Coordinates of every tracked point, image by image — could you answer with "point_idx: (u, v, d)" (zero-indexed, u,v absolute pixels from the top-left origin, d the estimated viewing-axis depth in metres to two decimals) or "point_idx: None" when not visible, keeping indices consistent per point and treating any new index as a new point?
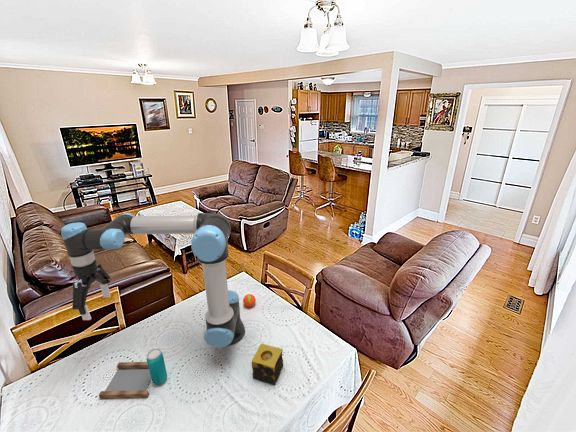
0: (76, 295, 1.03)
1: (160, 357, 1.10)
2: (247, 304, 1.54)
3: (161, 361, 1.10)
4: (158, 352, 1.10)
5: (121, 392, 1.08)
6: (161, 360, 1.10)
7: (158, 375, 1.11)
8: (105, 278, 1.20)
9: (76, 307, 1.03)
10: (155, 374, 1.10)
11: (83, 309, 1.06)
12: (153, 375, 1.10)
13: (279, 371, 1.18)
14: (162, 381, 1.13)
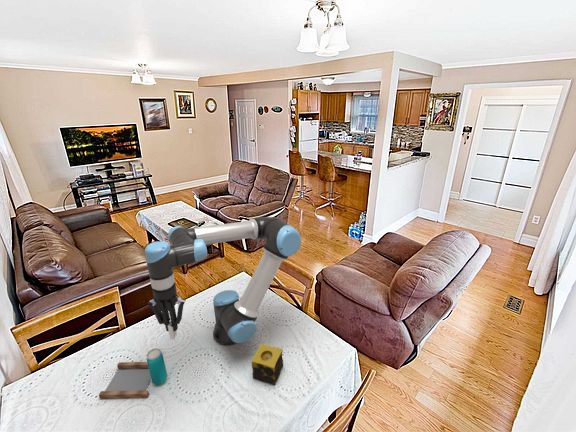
0: None
1: (160, 357, 1.10)
2: None
3: (161, 361, 1.10)
4: (158, 352, 1.10)
5: (121, 392, 1.08)
6: (161, 360, 1.10)
7: (158, 375, 1.11)
8: (176, 320, 1.04)
9: None
10: (155, 374, 1.10)
11: (166, 326, 1.04)
12: (153, 375, 1.10)
13: (279, 371, 1.18)
14: (162, 381, 1.13)
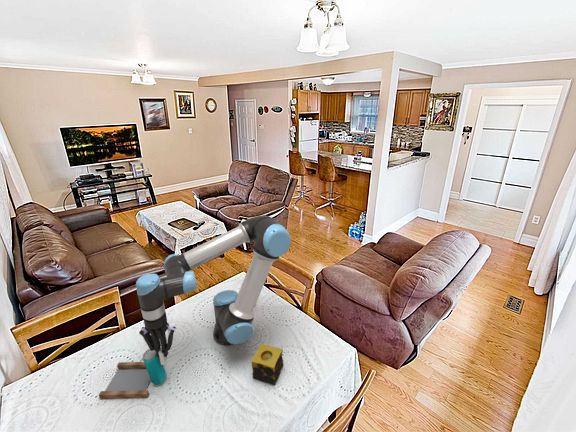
0: None
1: (156, 356, 1.09)
2: None
3: (158, 360, 1.10)
4: (154, 352, 1.10)
5: (121, 392, 1.08)
6: (158, 359, 1.10)
7: (157, 374, 1.11)
8: (166, 346, 1.08)
9: None
10: (153, 374, 1.10)
11: (157, 353, 1.09)
12: (151, 375, 1.10)
13: (279, 371, 1.18)
14: (161, 380, 1.12)
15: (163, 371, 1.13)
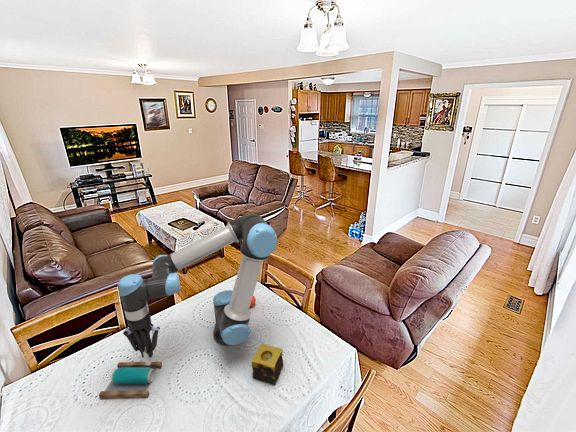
0: None
1: (115, 372, 1.12)
2: None
3: (120, 372, 1.12)
4: None
5: (121, 392, 1.08)
6: (119, 372, 1.12)
7: (133, 378, 1.11)
8: None
9: None
10: (131, 381, 1.11)
11: (142, 353, 1.08)
12: (133, 382, 1.12)
13: (279, 371, 1.18)
14: (143, 376, 1.11)
15: (137, 371, 1.13)
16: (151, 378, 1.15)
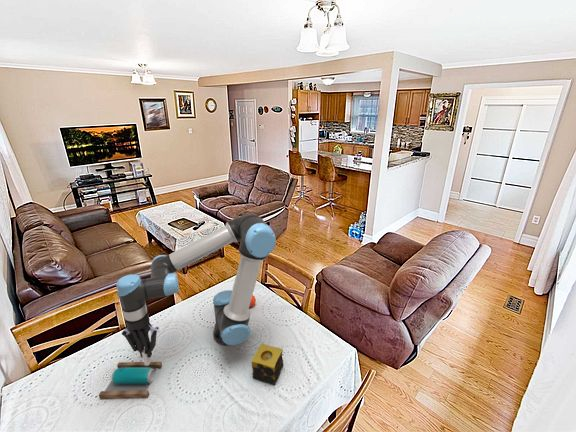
0: None
1: (115, 372, 1.12)
2: None
3: (120, 372, 1.12)
4: None
5: (121, 392, 1.08)
6: (119, 372, 1.12)
7: (133, 378, 1.11)
8: (149, 347, 1.08)
9: None
10: (131, 381, 1.11)
11: (141, 353, 1.09)
12: (133, 382, 1.12)
13: (279, 371, 1.18)
14: (143, 376, 1.11)
15: (137, 371, 1.13)
16: (151, 378, 1.15)
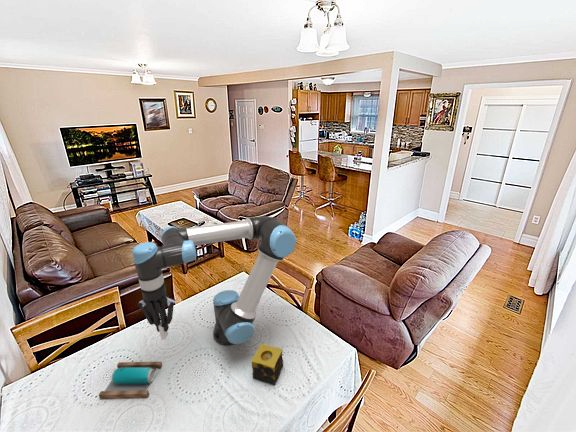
0: None
1: (115, 372, 1.12)
2: None
3: (120, 372, 1.12)
4: None
5: (121, 392, 1.08)
6: (119, 372, 1.12)
7: (133, 378, 1.11)
8: (166, 320, 1.04)
9: None
10: (131, 381, 1.11)
11: (157, 327, 1.04)
12: (133, 382, 1.12)
13: (279, 371, 1.18)
14: (143, 376, 1.11)
15: (137, 371, 1.13)
16: (151, 378, 1.15)
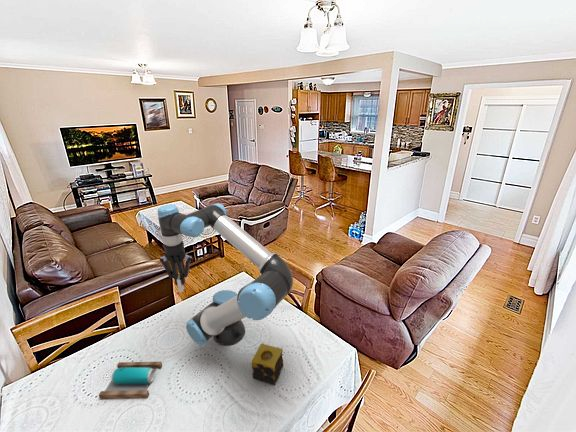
0: None
1: (115, 372, 1.12)
2: None
3: (120, 372, 1.12)
4: None
5: (121, 392, 1.08)
6: (119, 372, 1.12)
7: (133, 378, 1.11)
8: (183, 274, 1.20)
9: None
10: (131, 381, 1.11)
11: (175, 280, 1.21)
12: (133, 382, 1.12)
13: (279, 371, 1.18)
14: (143, 376, 1.11)
15: (137, 371, 1.13)
16: (151, 378, 1.15)
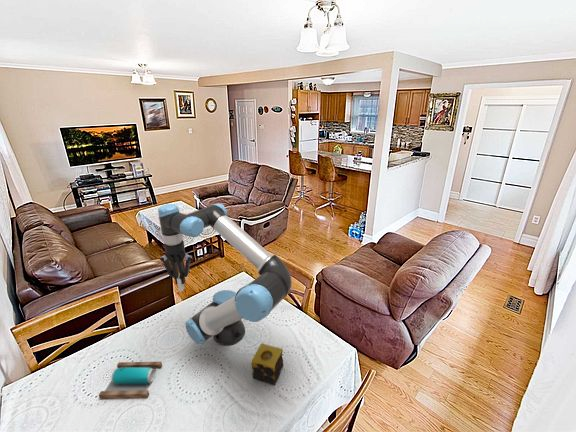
0: None
1: (115, 372, 1.12)
2: None
3: (120, 372, 1.12)
4: None
5: (121, 392, 1.08)
6: (119, 372, 1.12)
7: (133, 378, 1.11)
8: None
9: None
10: (131, 381, 1.11)
11: (176, 279, 1.21)
12: (133, 382, 1.12)
13: (279, 371, 1.18)
14: (143, 376, 1.11)
15: (137, 371, 1.13)
16: (151, 378, 1.15)
